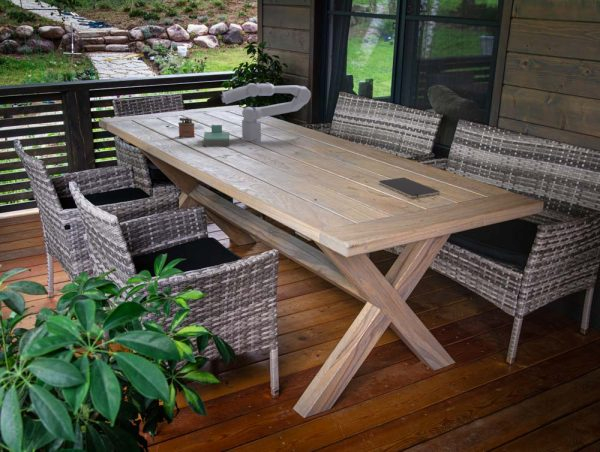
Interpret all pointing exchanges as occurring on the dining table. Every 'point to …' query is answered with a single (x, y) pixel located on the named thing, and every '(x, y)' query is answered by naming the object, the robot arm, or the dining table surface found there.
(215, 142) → the tub
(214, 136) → the lid
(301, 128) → the dining table surface
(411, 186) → the notebook
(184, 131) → the lighter
